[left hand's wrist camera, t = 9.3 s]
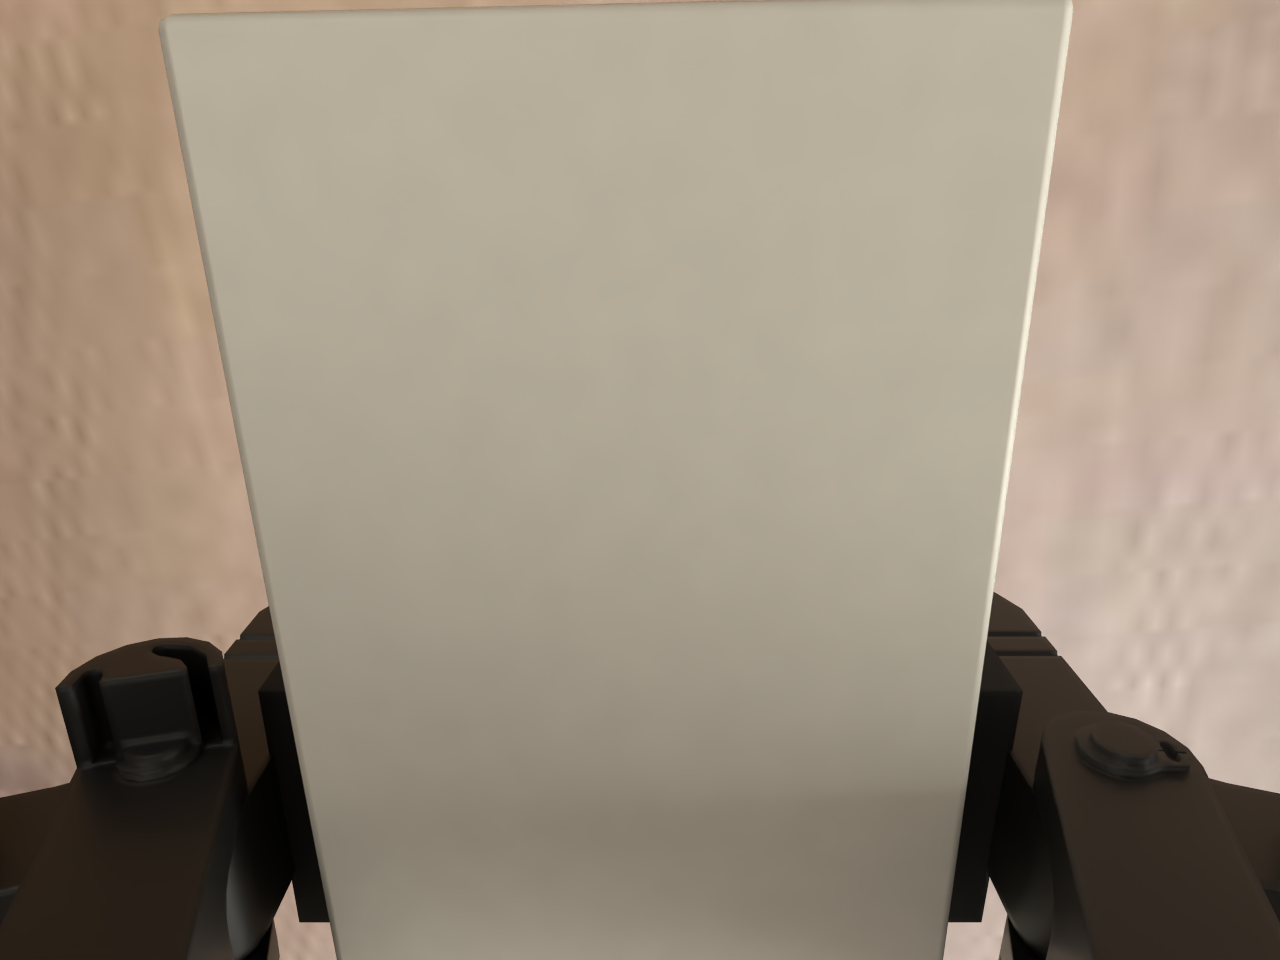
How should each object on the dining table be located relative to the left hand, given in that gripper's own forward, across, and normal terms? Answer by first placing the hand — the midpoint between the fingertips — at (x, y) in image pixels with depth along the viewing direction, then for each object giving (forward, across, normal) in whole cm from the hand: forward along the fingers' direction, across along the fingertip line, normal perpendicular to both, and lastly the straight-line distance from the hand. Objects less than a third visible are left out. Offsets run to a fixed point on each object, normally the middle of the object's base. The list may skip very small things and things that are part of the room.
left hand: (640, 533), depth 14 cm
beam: (+1, +1, -28) cm, 29 cm away
